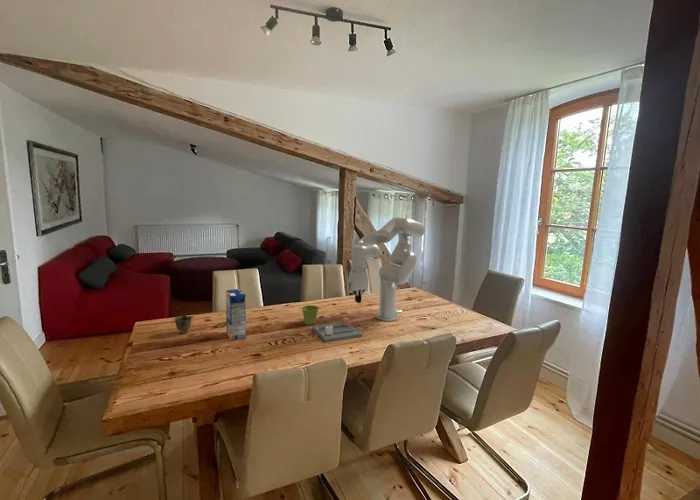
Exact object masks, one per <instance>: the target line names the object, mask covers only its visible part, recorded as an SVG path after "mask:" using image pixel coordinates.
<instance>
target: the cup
mask: <svg viewBox="0 0 700 500" xmlns="http://www.w3.org/2000/svg"><path fill="white" fill-rule="evenodd" d="M174 321H175V327H176V330H177V331H179V334H181V335H185V334H187V333H188V331H189V329H190V328H191V325H192V316H191V315H189V316H188V315H185V314H184V315H180V316H176V317H175V318H174Z"/></svg>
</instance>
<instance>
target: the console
mask: <svg viewBox="0 0 700 500" xmlns="http://www.w3.org/2000/svg"><path fill="white" fill-rule="evenodd" d="M326 326H332V327H333V334H331V335H327V334H325V327H326ZM311 328H312V329H311V330H312V331H314V333H315V334H316V335H318V336H319V337H320V338H321V339H322V340H323V342H324V343H330V342H336V341H342V340H343V341H344V340H348V339H349V340H350V339H355V338H362V337H363V333H362V332H360V331H359V330H358V329H357V328H356V327H354V326H353V325H351V324H350V323H349V325H348V326H343V325H342V322H335V323H328V324H320V325H315V326H312V327H311Z"/></svg>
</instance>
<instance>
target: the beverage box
mask: <svg viewBox="0 0 700 500" xmlns="http://www.w3.org/2000/svg"><path fill="white" fill-rule="evenodd" d="M246 296H247V295H246V293H245V292H244V291H243V290H242V289H241V288H236V289H235V288H234V289H226V290H225V304H226V305H225V308H226V309H225V311H226V313H225V314H226V321H225V322H226V324H225V325H226V334H227V336H228V338H229V339H230V341H239V340H240V341H241V340H246V339H247V306H246V305H247V299H246V298H247V297H246Z"/></svg>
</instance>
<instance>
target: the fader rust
mask: <svg viewBox="0 0 700 500" xmlns="http://www.w3.org/2000/svg"><path fill="white" fill-rule="evenodd" d="M341 319H342V322H341V323H342V325H343V326H348V325H349V324H350V318H349V317H343V318H341Z"/></svg>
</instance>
